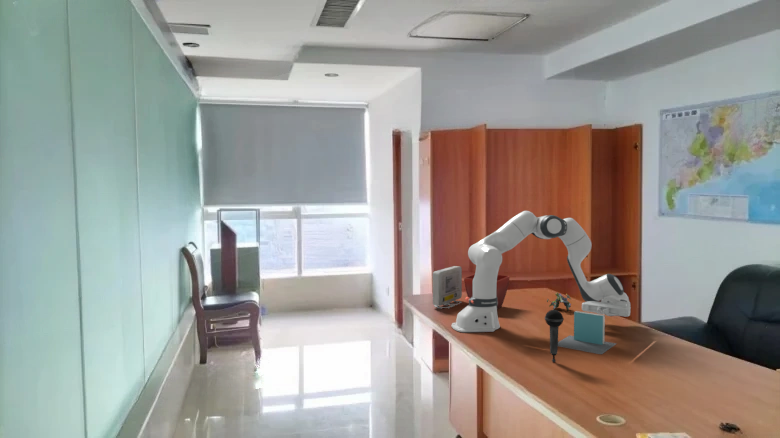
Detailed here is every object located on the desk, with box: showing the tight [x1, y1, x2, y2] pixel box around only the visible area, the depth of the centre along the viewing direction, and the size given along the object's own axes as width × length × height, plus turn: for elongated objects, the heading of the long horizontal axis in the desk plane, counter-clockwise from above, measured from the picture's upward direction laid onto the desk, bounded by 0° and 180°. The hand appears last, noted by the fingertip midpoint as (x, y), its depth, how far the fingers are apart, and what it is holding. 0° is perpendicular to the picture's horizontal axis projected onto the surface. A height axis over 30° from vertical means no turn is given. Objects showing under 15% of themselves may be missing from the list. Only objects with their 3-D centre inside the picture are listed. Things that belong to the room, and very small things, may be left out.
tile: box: [573, 310, 606, 345], centre depth 233 cm, size 2×12×12 cm, turn 51°
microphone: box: [544, 309, 565, 363], centre depth 209 cm, size 7×7×20 cm
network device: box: [432, 265, 463, 309], centre depth 307 cm, size 26×9×20 cm, turn 144°
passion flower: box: [546, 292, 572, 312], centre depth 292 cm, size 11×11×12 cm
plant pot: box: [463, 273, 511, 310], centre depth 299 cm, size 19×19×17 cm
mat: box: [558, 334, 617, 355], centre depth 230 cm, size 18×20×1 cm
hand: (600, 312), depth 243 cm, fingers closed
